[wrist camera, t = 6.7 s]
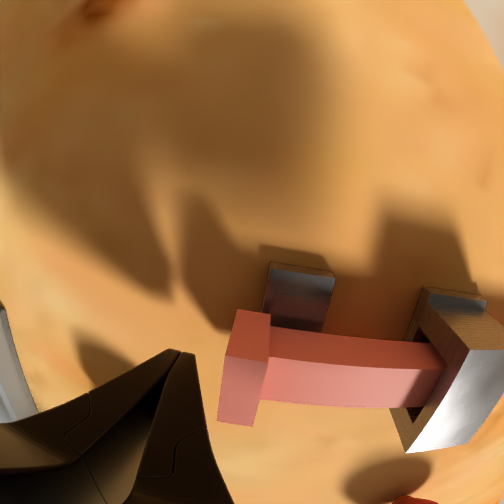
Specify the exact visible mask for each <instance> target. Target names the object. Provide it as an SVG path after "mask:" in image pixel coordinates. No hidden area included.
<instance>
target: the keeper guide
mask: <svg viewBox="0 0 504 504" xmlns="http://www.w3.org/2000/svg"><path fill="white" fill-rule="evenodd" d="M335 279H336V278H335V276H334V274H333V272H331V271H325V270H319V269H312V268H306V267H300V266H294V265H288V264H282V263H276V262H271V263H270V268H269V274H268V279H267V285H266V290H265V296H264V301H263V306H262V312H261V313H266V314H271V319H270V326H274V327H280V328H287V329H294V330H301V331H308V332H316V333H321V330H322V327H323V323H324V320H325V317H326V313H327V309H328V306H329V302H330V298H331V295H332V291H333V287H334V283H335ZM487 302H488V301H487V300H485V299H484V298H483V297H482V296H480V295H476V294H469V293H463V292H456V291H450V290H443V289H437V288H431V287H424V286H423V289H422V292H421V295H420V298H419V301H418V304H417V307H416V309H415V312H414V315H413V318H412V320H411V323H410V325H409V328H408V330H407V333H406V335H405V338H404V340H403V341H404V342H418V343H432V344H433V345H434V347H435V348H436V350H437V351H438V352H439V354H440V355H441V356H442V358H443V359H444V361H445V362H446V363H447V367H446V369H445V371H444V373H443V375H442V377H441V379H440V380H439V382H438V384H437V386H436V388H435V389H434V391H433V393H432V394H431V396H430V398H429V400H428V401H427V403H426V404H425V406H424V407H405V408H389V409H390V412H391V414H392V417H393V420H394V423H395V425H396V428H397V431H398V433H399V436H400V439H401V442H402V445H403V448H404V450H405V453H414V452H421V451H429V450H435V449H441V448H447V447H452V446H457V445H462V444H467V443H468V442H469V441H470V440H471V438H472V437H473V436H474V434H475V433H476V432H477V431H478V429H479V428H480V427H481V425H482V424H483V422H484V421H485V420H486V418H487V417H488V415H489V414H490V413H491V411H492V410H493V408H494V407H495V405H496V404H497V402H498V401H499V399H500V398H501V396H502V394H503V393H504V326H503V325H502V324H500V323H499V322H498V321H497V320H496V319H495V318H494V317H493V316H491V315H490V314H489V313H488V312H487V311H486V310H485V307H486V305H487Z"/></svg>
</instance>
